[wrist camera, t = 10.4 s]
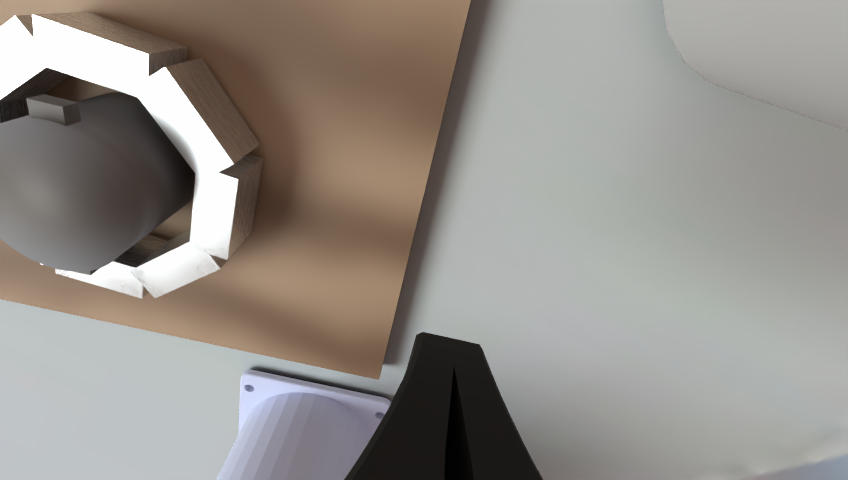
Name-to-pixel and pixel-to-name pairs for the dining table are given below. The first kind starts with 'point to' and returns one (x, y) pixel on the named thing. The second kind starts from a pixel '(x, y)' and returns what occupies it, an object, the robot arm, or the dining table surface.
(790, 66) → the can
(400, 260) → the board
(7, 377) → the dining table surface
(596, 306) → the dining table surface
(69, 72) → the collar
